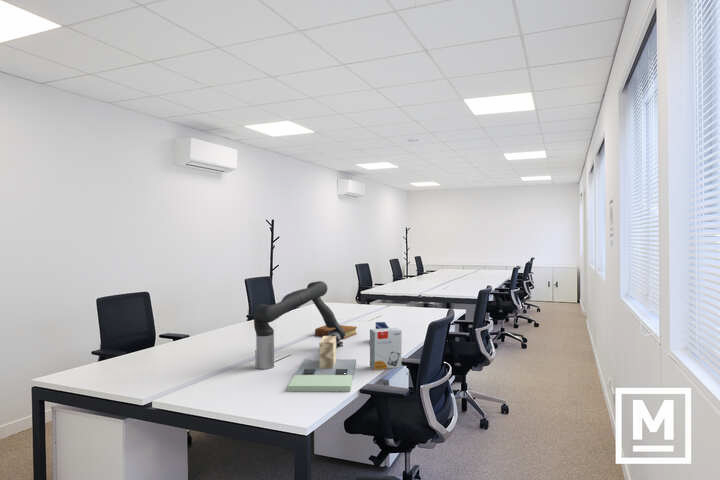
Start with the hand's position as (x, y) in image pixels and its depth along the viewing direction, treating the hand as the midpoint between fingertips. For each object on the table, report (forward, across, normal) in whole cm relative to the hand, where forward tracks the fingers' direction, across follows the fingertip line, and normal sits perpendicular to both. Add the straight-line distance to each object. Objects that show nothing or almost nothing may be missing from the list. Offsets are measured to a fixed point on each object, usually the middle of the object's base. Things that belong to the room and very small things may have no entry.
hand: (330, 347), depth 250 cm
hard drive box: (+7, +30, +9) cm, 32 cm away
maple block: (+10, 0, +6) cm, 12 cm away
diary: (-71, -4, +9) cm, 72 cm away
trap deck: (+23, 0, +9) cm, 24 cm away
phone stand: (-50, +30, +9) cm, 59 cm away
